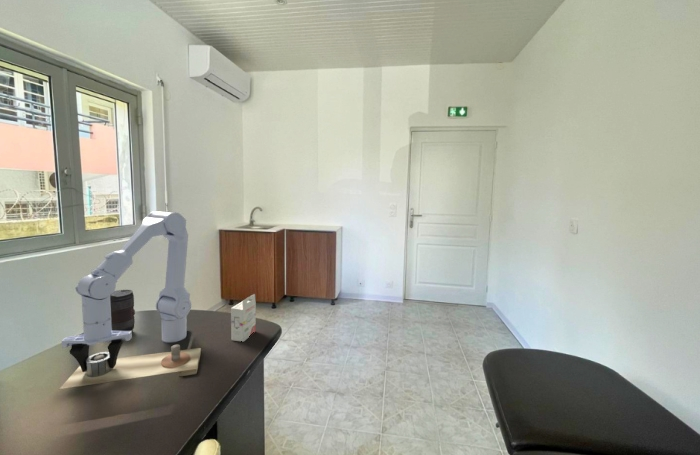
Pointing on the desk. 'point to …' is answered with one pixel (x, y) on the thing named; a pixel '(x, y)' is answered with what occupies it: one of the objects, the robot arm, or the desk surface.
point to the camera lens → (122, 310)
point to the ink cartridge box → (243, 319)
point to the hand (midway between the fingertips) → (99, 368)
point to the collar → (98, 365)
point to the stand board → (142, 367)
